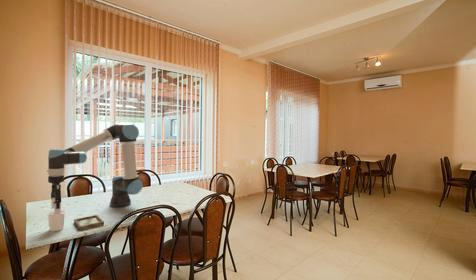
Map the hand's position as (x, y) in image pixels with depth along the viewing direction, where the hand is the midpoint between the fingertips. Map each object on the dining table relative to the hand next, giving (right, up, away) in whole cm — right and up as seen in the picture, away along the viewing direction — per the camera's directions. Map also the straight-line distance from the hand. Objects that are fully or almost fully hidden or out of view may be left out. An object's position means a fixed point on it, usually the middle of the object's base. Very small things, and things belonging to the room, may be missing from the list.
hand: (55, 211), depth 141 cm
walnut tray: (+14, -11, +10) cm, 20 cm away
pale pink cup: (0, -11, +1) cm, 11 cm away
